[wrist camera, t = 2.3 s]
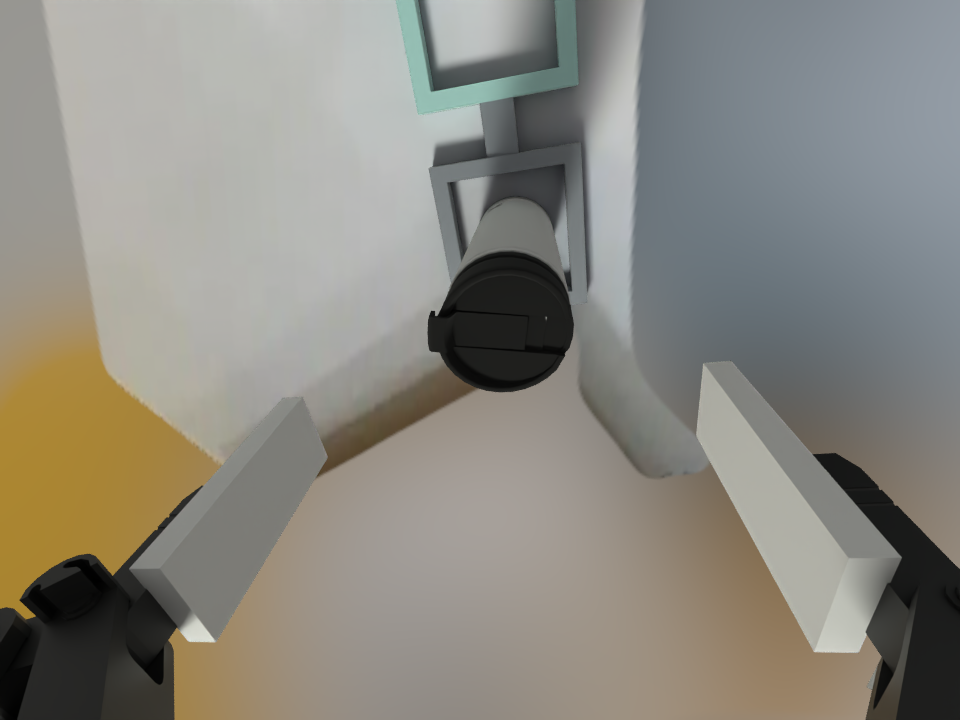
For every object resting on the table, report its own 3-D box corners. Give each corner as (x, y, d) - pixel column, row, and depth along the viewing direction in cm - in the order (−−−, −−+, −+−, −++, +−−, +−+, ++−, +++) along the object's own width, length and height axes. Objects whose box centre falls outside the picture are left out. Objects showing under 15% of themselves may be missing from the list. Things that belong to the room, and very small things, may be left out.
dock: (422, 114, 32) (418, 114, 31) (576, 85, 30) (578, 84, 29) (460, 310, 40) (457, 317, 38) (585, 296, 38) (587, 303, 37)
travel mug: (476, 192, 35) (425, 264, 17) (557, 199, 34) (590, 278, 17) (472, 268, 38) (425, 393, 20) (547, 274, 37) (565, 407, 20)
